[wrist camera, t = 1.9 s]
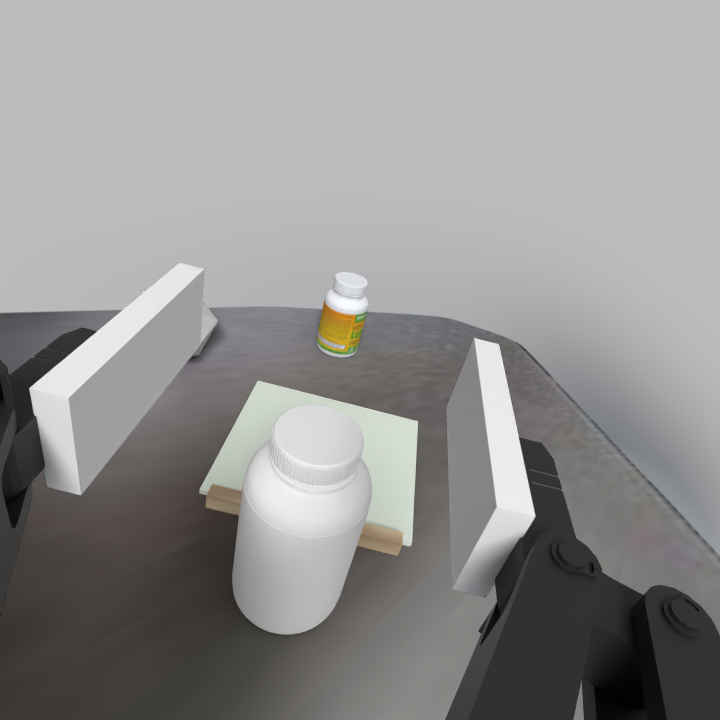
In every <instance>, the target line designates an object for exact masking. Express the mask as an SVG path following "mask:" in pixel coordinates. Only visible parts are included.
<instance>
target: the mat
mask: <svg viewBox="0 0 720 720" xmlns="http://www.w3.org/2000/svg"><path fill="white" fill-rule="evenodd" d="M310 404H314V405H323V406H328V407H331V408H334V409H337V410H339V411H341V412H343V413H345V414H346V415H348V416H349V417H350V418H351V419H353V420H354V421H355V423H356V424H357V425H358V427H359V428H360V430H361V432H362V435H363V439H364V441H363V442H364V447H363V451H362V455H361V458H362V459H363V461H364V462H365V464H366V466H367V468H368V471H369V473H370V477H371V482H372V501H371V505H370V508H369V511H368V514H367V517H366V520H365V523H368V524H372V525H376V526H380V527H384V528H388V529H392V530H396V531H400V532H403V544H402V545H405V546H409V547H410V546H411V544H412V531H413V511H414V490H415V470H416V450H417V430H418V421H414V420H410V419H407V418H403V417H399V416H395V415H391V414H387V413H383V412H379V411H375V410H371V409H367V408H363V407H359V406H356V405H352V404H348V403H344V402H340V401H336V400H332V399H328V398H324V397H320V396H316V395H312V394H308V393H305V392H301V391H297V390H293V389H289V388H285V387H281V386H277V385H273V384H269V383H265V382H261V381H258V382H257V383H256V385H255V387H254V389H253V391H252V393H251V395H250V396H249V398H248V400H247V402H246V404H245V406H244V408H243V410H242V411H241V413H240V415H239V417H238V419H237V421H236V423H235V424H234V426H233V428H232V430H231V432H230V434H229V436H228V437H227V439H226V441H225V443H224V445H223V447H222V449H221V451H220V452H219V454H218V456H217V458H216V460H215V462H214V464H213V465H212V467H211V469H210V471H209V473H208V475H207V477H206V478H205V480H204V482H203V484H202V486H201V488H200V494H204V495H207V493H208V491H209V489H210V487H211V485H212V484H214V485H218V486H222V487H226V488H230V489H234V490H238V491H242V487H243V479H244V474H245V471H246V468H247V466H248V464H249V462H250V460H251V458H252V457H253V455H254V454H255V453H256V452H257V450H258V449H259V448H260V447H261V446H263V445H264V444H265V443H266V442H268V441H270V439H271V432H272V427H273V424H274V422H275V421H276V419H278V417H279V416H280V415H281V414H283V413H284V412H285V411H287V410H289V409H291V408H294V407H297V406H301V405H310Z"/></svg>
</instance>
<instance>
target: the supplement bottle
mask: <svg viewBox="0 0 720 720" xmlns="http://www.w3.org/2000/svg"><path fill="white" fill-rule="evenodd" d="M367 285H368V282H367V280H366V279H365V278H363V277H362V276H360V275H357V274H354V273H350V272H342V273H338V274H337V275H336V276H335V279H334V283H333V289H331V290H329V291H328V292H327V294H326V296H325V301H324V305H323V310H322V315H321V321H320V325H319V330H318V335H317V346H318V348H319V349H320V350H321V351H322V352H324V353H325V354H327V355H330V356H333V357H338V358H346V357H350V356H352V355H354V354H355V353H356V351H357V349H358V345H359V341H360V337H361V333H362V329H363V326H364V321H365V317H366V314H367V309H368V300H367V298H366V297H365V293H366V289H367Z"/></svg>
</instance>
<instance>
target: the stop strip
mask: <svg viewBox="0 0 720 720" xmlns="http://www.w3.org/2000/svg"><path fill="white" fill-rule="evenodd" d="M241 495H242V491H238V490H234V489H230V488H226V487H222V486H218V485H214V484H212V485H211V487H210V489H209V491H208V493H207V495H206V508H210V509H214V510H217V511H221V512H225V513H229V514H233V515H237V516H239V512H240V504H241ZM402 544H403V532H400V531H396V530H392V529H388V528H384V527H380V526H376V525H372V524H368V523H364V526H363V529H362V532H361V535H360V538H359V541H358V544H357V546H360V547H364V548H368V549H372V550H375V551H379V552H383V553H387V554H391V555H395V556H398V554H399V552H400V549H401V547H402Z"/></svg>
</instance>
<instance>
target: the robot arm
mask: <svg viewBox="0 0 720 720" xmlns="http://www.w3.org/2000/svg"><path fill="white" fill-rule="evenodd" d="M203 283H204V269H202V268H198V267H194V266H190V265H186V264H182V263H179V264H177V265H176V266H175V267H174V268H173V269H171V270H170V271H169V272H168V273H167V274H165V275H164V276H163V277H162V278H161V279H160V280H158V281H157V282H156V283H155V284H154V285H152V286H151V287H150V288H149V289H148V290H146V291H145V292H144V293H143V294H142V295H140V296H139V297H138V298H137V299H136V300H134V301H133V302H132V303H131V304H130V305H128V306H127V307H126V308H125V309H124V310H122V311H121V312H120V313H119V314H118V315H116V316H115V317H114V318H113V319H112V320H110V321H109V322H108V323H107V324H106V325H104V326H103V327H102V328H101V329H100V330H98V331H94V330H90V329H86V328H79V329H77V330H74V331H72V332H69V333H66V334H64V335H61V336H60V337H59V338H57V339H56V340H55V341H53V342H52V343H51V344H49V345H48V346H47V348H46V349H43V350H42V351H40V352H39V353H38V354H36V355H35V357H34V358H31V359H30V360H28V361H27V362H26V363H25V364H23V365H22V366H21V367H19V368H18V369H17V370H15V371H14V372H13V373H11V374H10V375H9V374H8V369H7V367H6V365H5V364H4V363H3V362H2V361H1V360H0V615H1V612H2V608H3V604H4V601H5V597H6V593H7V589H8V586H9V582H10V578H11V574H12V571H13V567H14V563H15V560H16V556H17V552H18V548H19V545H20V541H21V537H22V533H23V530H24V526H25V522H26V519H27V515H28V511H29V507H30V504H31V500H32V486H31V482H32V481H33V480H34V478H35V477H36V476H37V475H38V474H39V473H40V472H41V471H42V470H43V469H44V472H45V478H46V483H47V487H50V488H54V489H58V490H62V491H66V492H70V493H74V494H78V495H82V494H83V492H84V491H85V490H86V489H87V487H88V486H89V485H90V483H91V482H92V481H93V480H94V478H95V477H96V476H97V475H98V473H99V472H100V471H101V470H102V468H103V467H104V466H105V465H106V463H107V462H108V461H109V460H110V458H111V457H112V456H113V455H114V453H115V452H116V451H117V449H118V448H119V447H120V446H121V444H122V443H123V442H124V441H125V439H126V438H127V437H128V436H129V434H130V433H131V432H132V431H133V429H134V428H135V427H136V426H137V424H138V423H139V422H140V421H141V419H142V418H143V417H144V416H145V414H146V413H147V412H148V410H149V409H150V408H151V407H152V405H153V404H154V403H155V402H156V400H157V399H158V398H159V397H160V395H161V394H162V393H163V392H164V390H165V389H166V388H167V387H168V385H169V384H170V383H171V382H172V380H173V379H174V378H175V377H176V375H177V374H178V373H179V371H180V370H181V369H182V368H183V366H184V365H185V364H186V363H187V361H188V360H189V359H190V358H191V356H192V355H193V354H194V353H195V351H196V350H197V349H198V348H199V346H200V344H201V324H202V304H203ZM447 436H448V469H449V502H450V536H451V569H452V589H454V590H458V591H462V592H466V593H470V594H474V595H478V596H482V597H486V596H487V594H488V593H489V591H490V590H491V588H492V586H493V585H494V583H495V586H496V595H497V603H496V604H495V606H494V607H493V609H492V611H491V612H490V614H489V615H488V617H487V618H486V620H485V621H484V623H483V625H482V626H481V628H480V629H479V632H480V633H481V636H480V638H479V641H478V643H477V645H476V648H475V650H474V652H473V655H472V657H471V660H470V662H469V664H468V667H467V669H466V671H465V674H464V676H463V679H462V681H461V683H460V686H459V688H458V690H457V693H456V695H455V698H454V700H453V702H452V705H451V707H450V709H449V712H448V714H447V717H446V719H445V720H573V718H574V713H575V708H576V704H577V699H578V694H579V689H580V684H581V680H582V692H583V709H584V720H720V636H719V633H718V631H717V629H716V627H715V625H714V623H713V621H712V619H711V618H710V617H709V616H708V614H707V613H706V612H705V611H704V609H703V608H702V607H701V606H700V605H699V604H697V603H696V602H695V601H694V600H693V599H691V598H690V597H689V596H688V595H686V594H684V593H682V592H680V591H678V590H677V589H675V588H671V587H667V586H663V585H658V586H652V587H651V588H650V589H649V590H648V591H647V592H646V593H645V594H644V595H642V594H640V593H638V592H636V591H634V590H633V589H631V588H629V587H627V586H625V585H623V584H621V583H619V582H617V581H616V580H614V579H612V578H610V577H609V576H607V575H606V574H604V573H602V568H601V566H600V564H599V562H598V560H597V558H596V556H595V555H594V554H593V553H592V551H591V550H590V549H589V548H588V547H587V546H586V545H585V544H583V543H582V542H581V541H579V540H578V539H577V538H576V536H575V533H574V529H573V526H572V522H571V519H570V515H569V512H568V508H567V505H566V501H565V498H564V494H563V491H561V489H562V487H561V484H560V480H559V478H557V477H558V473H557V470H556V466H555V463H554V459H553V458H552V456H551V455H550V454H549V452H548V451H547V450H546V448H545V447H544V446H543V444H542V443H539V442H535V441H531V440H527V439H523V438H519V437H518V432H517V427H516V423H515V418H514V413H513V408H512V404H511V399H510V394H509V390H508V385H507V380H506V376H505V371H504V366H503V362H502V357H501V352H500V347H499V344H495V343H491V342H487V341H483V340H480V339H476V338H474V340H473V343H472V345H471V348H470V351H469V353H468V356H467V358H466V361H465V363H464V366H463V368H462V371H461V373H460V376H459V378H458V381H457V383H456V386H455V388H454V391H453V393H452V396H451V398H450V401H449V403H448V406H447Z"/></svg>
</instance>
